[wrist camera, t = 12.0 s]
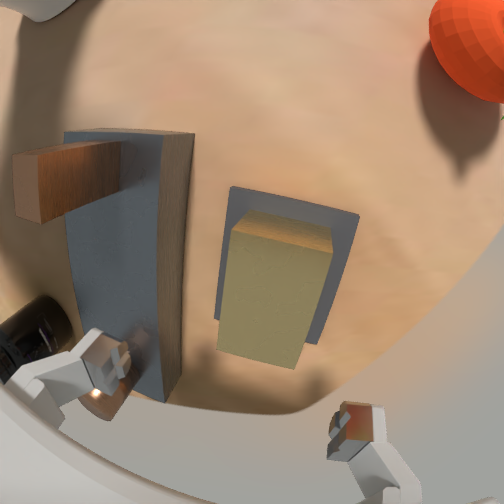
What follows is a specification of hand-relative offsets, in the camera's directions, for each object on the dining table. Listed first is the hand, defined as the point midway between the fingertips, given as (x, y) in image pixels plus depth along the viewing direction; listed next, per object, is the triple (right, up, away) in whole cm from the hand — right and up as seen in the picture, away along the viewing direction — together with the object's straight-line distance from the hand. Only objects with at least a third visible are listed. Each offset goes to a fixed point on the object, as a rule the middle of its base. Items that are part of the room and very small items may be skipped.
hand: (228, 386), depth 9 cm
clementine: (+14, +17, +2) cm, 22 cm away
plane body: (-8, +3, +13) cm, 16 cm away
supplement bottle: (-23, -3, +20) cm, 31 cm away
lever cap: (+3, +3, +10) cm, 10 cm away
